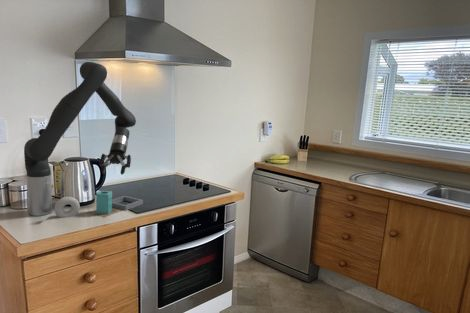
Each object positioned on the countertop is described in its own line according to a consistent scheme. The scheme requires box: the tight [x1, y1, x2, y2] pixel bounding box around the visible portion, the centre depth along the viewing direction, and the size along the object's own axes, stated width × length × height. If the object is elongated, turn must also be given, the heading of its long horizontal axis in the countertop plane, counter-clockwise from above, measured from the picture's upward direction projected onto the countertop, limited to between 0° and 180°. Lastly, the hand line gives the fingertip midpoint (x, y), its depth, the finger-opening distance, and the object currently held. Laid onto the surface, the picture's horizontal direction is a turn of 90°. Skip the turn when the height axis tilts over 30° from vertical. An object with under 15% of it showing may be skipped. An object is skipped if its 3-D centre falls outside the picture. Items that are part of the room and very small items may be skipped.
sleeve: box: [95, 190, 113, 214], centre depth 157 cm, size 5×5×9 cm
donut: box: [53, 196, 81, 218], centre depth 150 cm, size 10×4×10 cm, turn 124°
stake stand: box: [88, 208, 121, 218], centre depth 157 cm, size 10×10×6 cm
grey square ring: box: [112, 195, 144, 211], centre depth 169 cm, size 12×12×4 cm
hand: (112, 173), depth 166 cm, fingers open, 8 cm apart
